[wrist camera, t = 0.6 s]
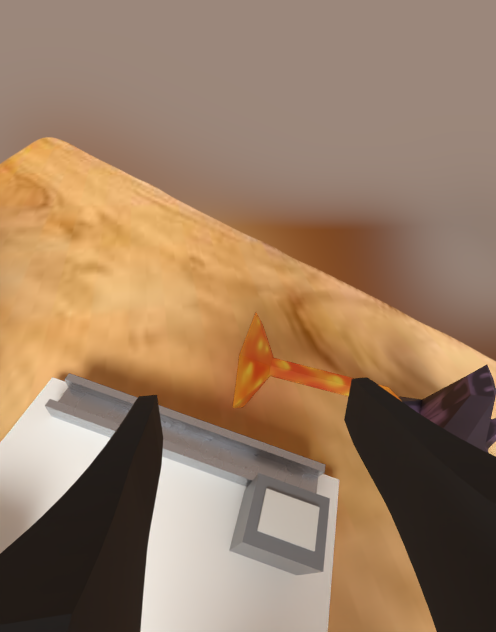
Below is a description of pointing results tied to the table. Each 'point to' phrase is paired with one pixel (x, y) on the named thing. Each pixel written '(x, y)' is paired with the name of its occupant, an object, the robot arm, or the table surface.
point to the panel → (168, 534)
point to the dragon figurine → (441, 407)
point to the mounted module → (282, 526)
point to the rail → (186, 437)
